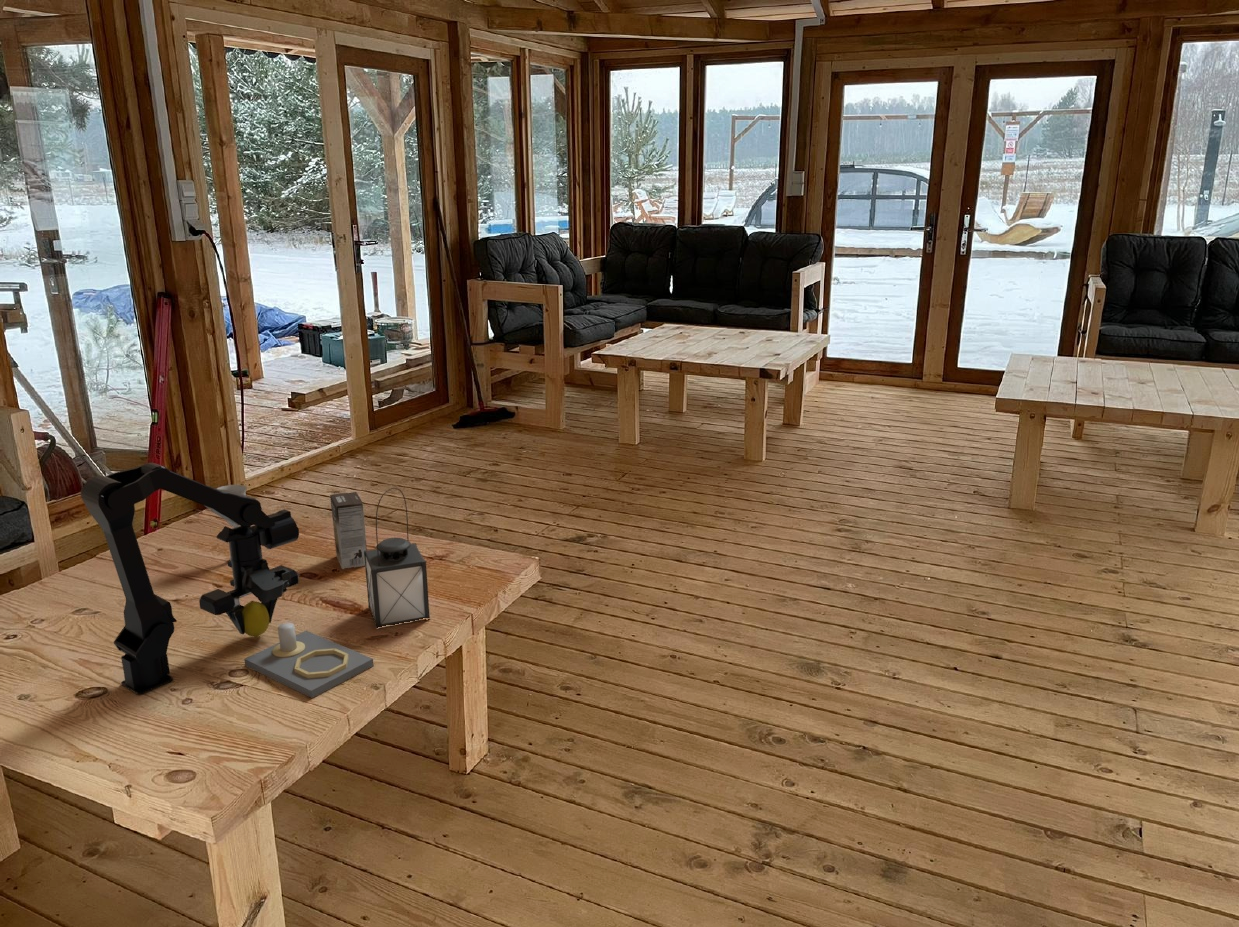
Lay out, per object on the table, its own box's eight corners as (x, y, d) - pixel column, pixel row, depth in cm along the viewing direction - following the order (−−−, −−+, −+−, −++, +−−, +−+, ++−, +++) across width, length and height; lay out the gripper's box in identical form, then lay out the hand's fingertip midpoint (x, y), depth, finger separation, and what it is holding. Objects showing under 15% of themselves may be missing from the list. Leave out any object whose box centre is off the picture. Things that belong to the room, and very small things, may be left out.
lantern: (420, 599, 202) (411, 478, 194) (430, 620, 192) (421, 493, 184) (368, 607, 198) (357, 484, 190) (376, 629, 188) (364, 500, 180)
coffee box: (335, 556, 225) (329, 494, 220) (362, 552, 228) (356, 490, 223) (341, 570, 217) (335, 505, 213) (368, 565, 220) (363, 502, 215)
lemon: (261, 645, 182) (256, 608, 179) (236, 642, 183) (231, 605, 180) (276, 632, 187) (272, 596, 184) (252, 629, 188) (247, 594, 185)
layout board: (311, 698, 163) (308, 665, 161) (245, 665, 174) (240, 634, 172) (373, 665, 174) (370, 635, 172) (307, 637, 185) (303, 607, 183)
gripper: (227, 582, 168) (237, 658, 172) (312, 550, 182) (319, 621, 187) (192, 568, 174) (203, 642, 178) (278, 538, 189) (285, 607, 193)
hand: (255, 628), depth 184 cm, fingers closed on lemon, 5 cm apart
